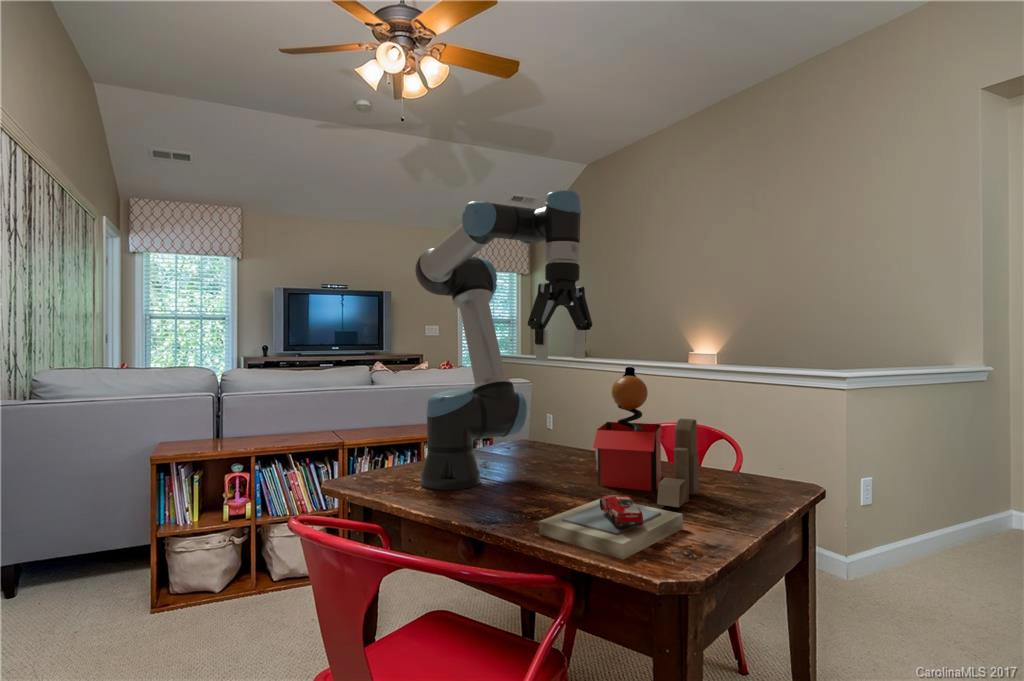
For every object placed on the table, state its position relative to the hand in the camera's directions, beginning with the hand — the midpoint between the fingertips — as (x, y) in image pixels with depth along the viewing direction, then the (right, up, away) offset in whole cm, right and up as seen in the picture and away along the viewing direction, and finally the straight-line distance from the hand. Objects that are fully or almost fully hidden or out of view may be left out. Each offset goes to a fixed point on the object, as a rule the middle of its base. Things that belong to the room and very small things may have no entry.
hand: (561, 359), depth 125 cm
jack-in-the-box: (+20, -33, +23) cm, 45 cm away
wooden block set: (+27, -33, +5) cm, 43 cm away
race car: (+8, -31, -17) cm, 36 cm away
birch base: (+8, -33, -17) cm, 38 cm away
